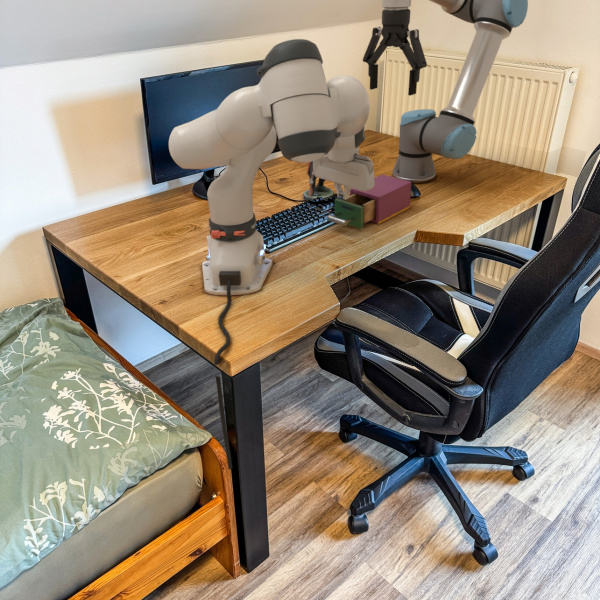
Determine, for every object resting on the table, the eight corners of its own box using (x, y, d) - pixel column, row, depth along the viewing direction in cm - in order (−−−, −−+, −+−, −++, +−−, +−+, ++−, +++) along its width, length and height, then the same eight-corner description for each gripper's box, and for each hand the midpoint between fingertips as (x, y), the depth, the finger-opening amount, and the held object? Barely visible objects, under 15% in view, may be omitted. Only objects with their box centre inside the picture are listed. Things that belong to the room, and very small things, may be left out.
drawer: (348, 235, 162) (348, 213, 159) (322, 225, 168) (322, 205, 165) (391, 213, 174) (392, 193, 170) (365, 205, 180) (365, 185, 177)
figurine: (331, 204, 184) (330, 110, 168) (299, 202, 186) (296, 110, 170) (336, 192, 193) (335, 102, 177) (306, 191, 195) (303, 102, 179)
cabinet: (378, 224, 170) (379, 197, 165) (349, 214, 177) (349, 188, 172) (409, 207, 180) (411, 181, 175) (381, 199, 186) (382, 174, 182)
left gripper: (380, 155, 150) (378, 203, 158) (323, 141, 163) (324, 187, 170) (365, 161, 147) (364, 210, 154) (308, 146, 159) (310, 193, 166)
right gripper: (444, 8, 145) (437, 94, 156) (368, 5, 160) (366, 84, 171) (428, 11, 140) (421, 99, 152) (351, 8, 155) (350, 88, 167)
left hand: (343, 198), depth 162 cm, fingers closed
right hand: (392, 91), depth 161 cm, fingers open, 13 cm apart
